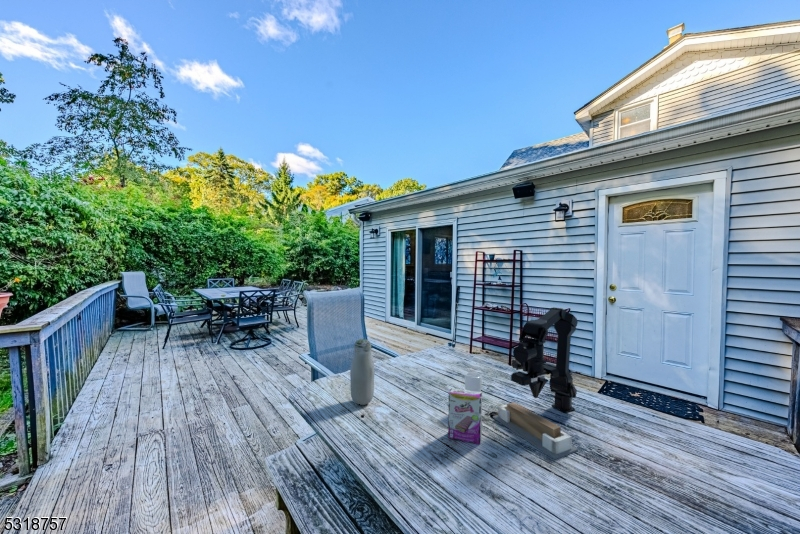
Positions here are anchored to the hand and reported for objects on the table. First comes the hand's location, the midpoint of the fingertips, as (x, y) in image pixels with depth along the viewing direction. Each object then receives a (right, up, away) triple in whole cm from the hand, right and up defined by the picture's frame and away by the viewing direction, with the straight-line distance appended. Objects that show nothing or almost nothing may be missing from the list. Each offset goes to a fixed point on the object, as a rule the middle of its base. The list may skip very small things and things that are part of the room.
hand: (535, 397), depth 113 cm
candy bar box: (-28, -12, -7) cm, 31 cm away
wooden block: (-3, -11, -4) cm, 12 cm away
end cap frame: (-3, -11, -4) cm, 12 cm away
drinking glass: (-20, -11, +13) cm, 26 cm away
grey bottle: (-67, -11, +19) cm, 71 cm away
